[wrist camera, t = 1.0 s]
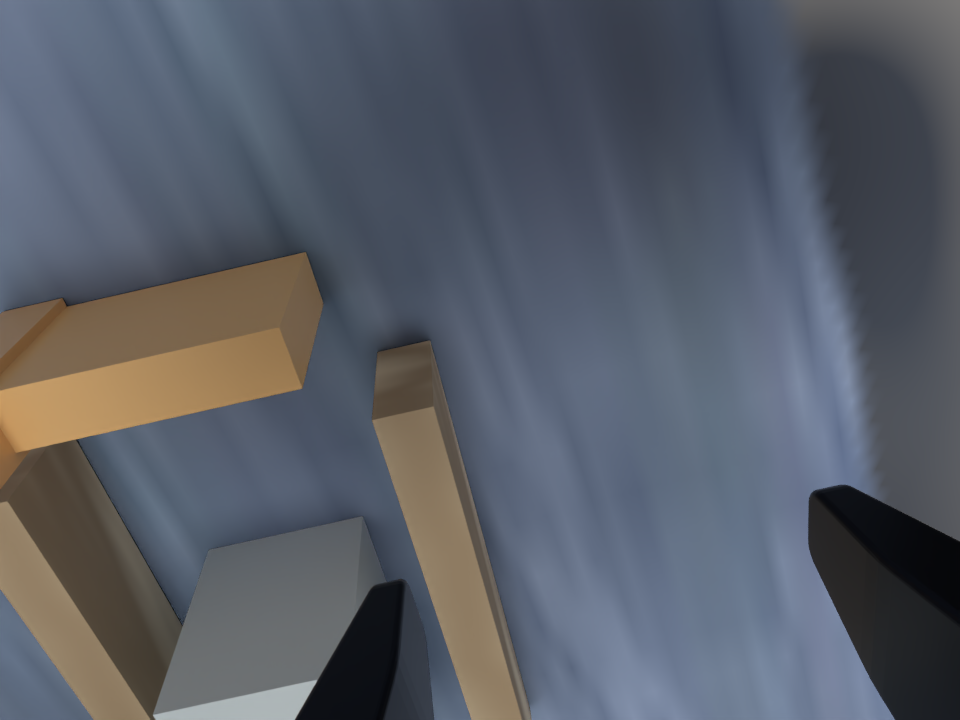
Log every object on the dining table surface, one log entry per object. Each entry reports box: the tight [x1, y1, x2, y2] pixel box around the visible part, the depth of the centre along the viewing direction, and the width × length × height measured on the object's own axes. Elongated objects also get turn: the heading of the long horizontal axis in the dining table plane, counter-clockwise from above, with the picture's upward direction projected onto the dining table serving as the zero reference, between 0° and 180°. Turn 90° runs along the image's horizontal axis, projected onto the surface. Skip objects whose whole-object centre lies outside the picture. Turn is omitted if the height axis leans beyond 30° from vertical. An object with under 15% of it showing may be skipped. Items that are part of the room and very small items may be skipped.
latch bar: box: [0, 252, 323, 489], centre depth 17 cm, size 8×2×6 cm, turn 102°
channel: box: [0, 340, 532, 720], centre depth 23 cm, size 12×16×4 cm
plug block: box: [153, 516, 387, 720], centre depth 23 cm, size 5×8×6 cm, turn 12°
